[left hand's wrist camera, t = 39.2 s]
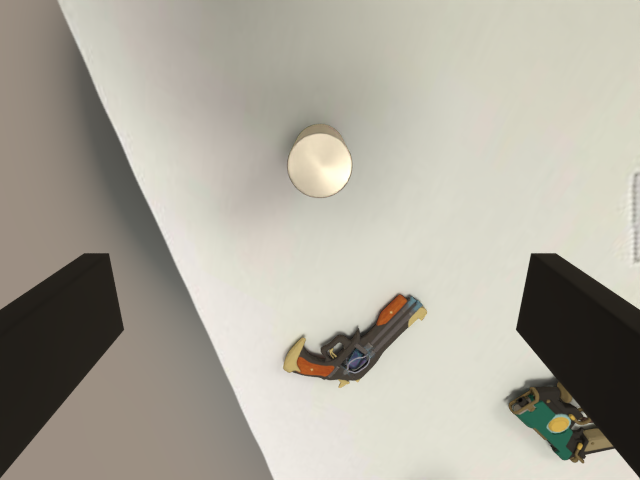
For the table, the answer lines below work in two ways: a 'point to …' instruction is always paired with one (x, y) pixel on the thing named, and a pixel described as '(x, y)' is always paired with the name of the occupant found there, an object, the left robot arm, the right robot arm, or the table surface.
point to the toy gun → (357, 345)
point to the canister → (319, 162)
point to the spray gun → (559, 422)
